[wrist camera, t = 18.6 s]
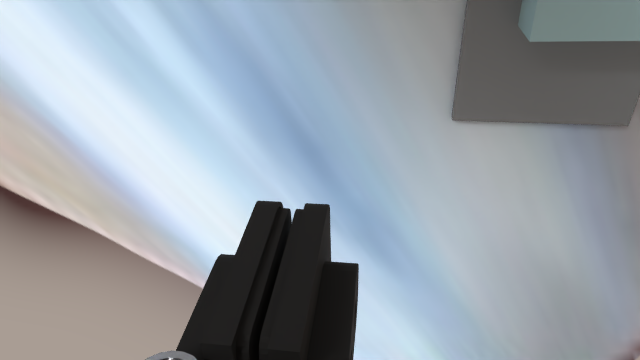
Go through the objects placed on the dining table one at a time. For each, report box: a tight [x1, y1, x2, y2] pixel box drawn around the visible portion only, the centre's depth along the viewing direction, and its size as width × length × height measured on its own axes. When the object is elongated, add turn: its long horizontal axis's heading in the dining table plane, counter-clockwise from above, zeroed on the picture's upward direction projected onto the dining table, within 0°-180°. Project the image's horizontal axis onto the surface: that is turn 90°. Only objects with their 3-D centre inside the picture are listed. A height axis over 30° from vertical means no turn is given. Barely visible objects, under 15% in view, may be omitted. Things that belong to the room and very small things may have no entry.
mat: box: [452, 0, 640, 126], centre depth 29 cm, size 12×11×1 cm
